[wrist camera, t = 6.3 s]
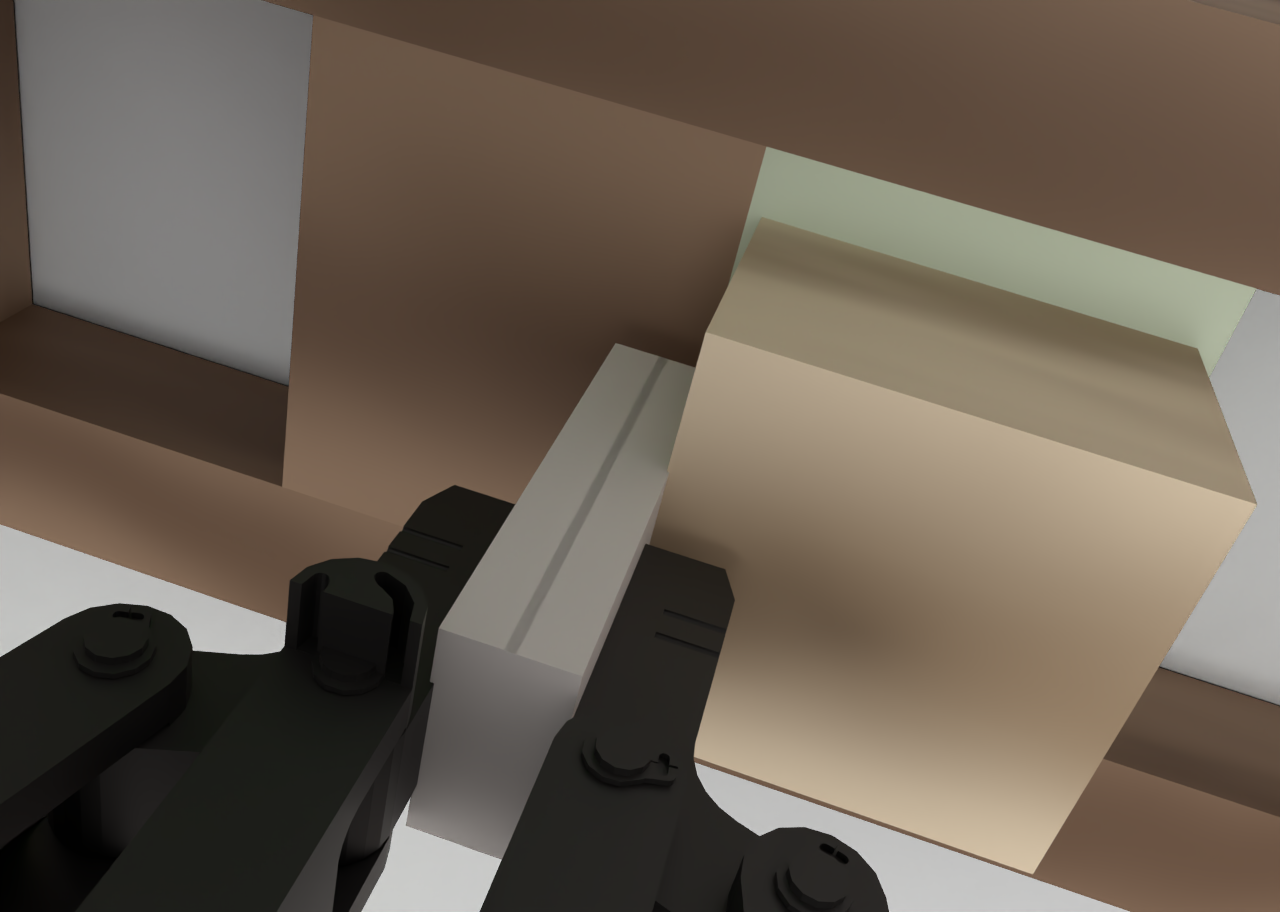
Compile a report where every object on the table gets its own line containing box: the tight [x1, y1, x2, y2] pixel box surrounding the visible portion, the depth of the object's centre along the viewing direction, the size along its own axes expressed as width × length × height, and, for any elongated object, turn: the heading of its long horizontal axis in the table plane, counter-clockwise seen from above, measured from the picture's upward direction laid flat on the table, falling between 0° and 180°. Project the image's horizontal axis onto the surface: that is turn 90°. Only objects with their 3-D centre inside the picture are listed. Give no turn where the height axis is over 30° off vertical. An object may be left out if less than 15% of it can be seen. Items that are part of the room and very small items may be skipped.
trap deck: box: [0, 0, 1280, 912], centre depth 19 cm, size 14×28×3 cm, turn 78°
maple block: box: [649, 217, 1257, 874], centre depth 16 cm, size 6×6×4 cm
